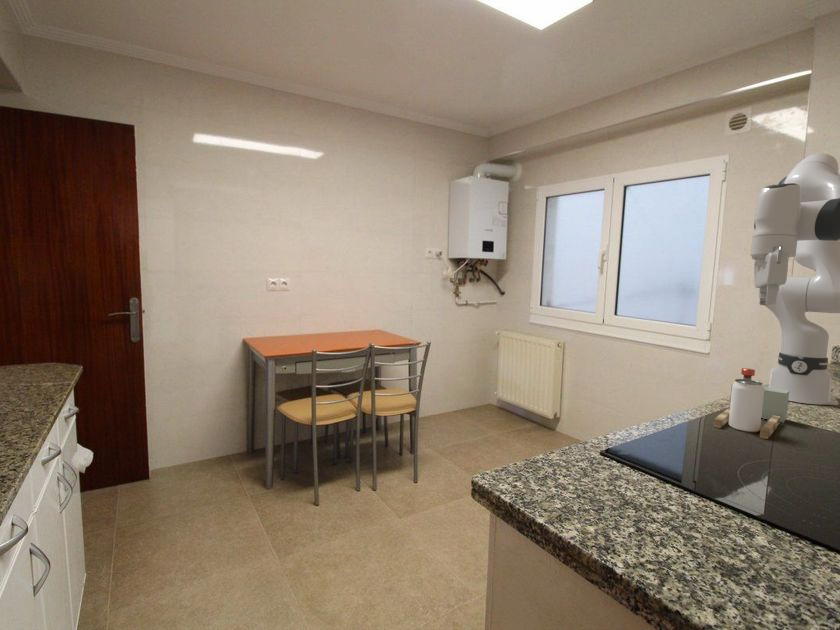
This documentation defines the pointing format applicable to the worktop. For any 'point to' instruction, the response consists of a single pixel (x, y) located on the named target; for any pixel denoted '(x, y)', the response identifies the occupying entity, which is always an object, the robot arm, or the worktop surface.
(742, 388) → the can
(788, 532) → the worktop surface
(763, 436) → the rails
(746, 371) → the plunger
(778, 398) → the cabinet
